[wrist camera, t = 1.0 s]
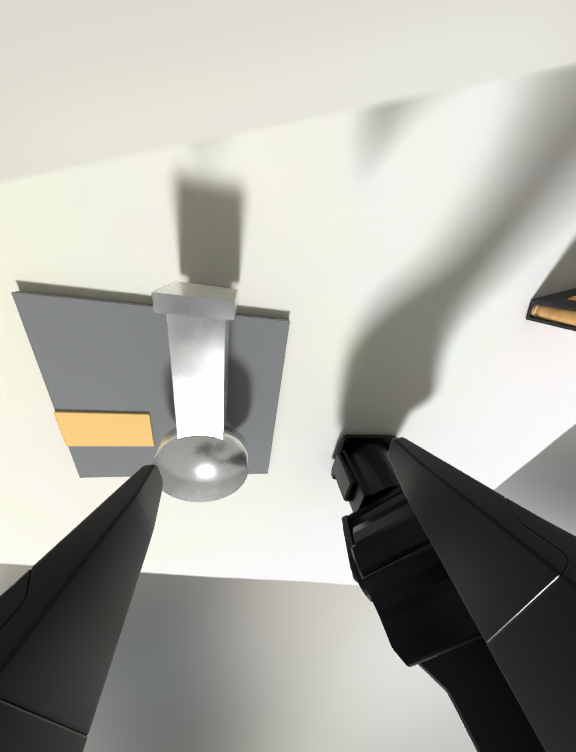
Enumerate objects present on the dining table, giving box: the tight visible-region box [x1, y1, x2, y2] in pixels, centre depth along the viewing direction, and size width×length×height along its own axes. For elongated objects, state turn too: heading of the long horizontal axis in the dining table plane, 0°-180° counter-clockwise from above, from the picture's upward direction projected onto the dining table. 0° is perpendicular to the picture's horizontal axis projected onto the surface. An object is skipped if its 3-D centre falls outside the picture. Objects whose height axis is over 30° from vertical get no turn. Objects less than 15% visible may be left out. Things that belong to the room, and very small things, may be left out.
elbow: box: [152, 281, 248, 502], centre depth 18 cm, size 16×7×4 cm, turn 172°
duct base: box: [11, 291, 290, 478], centre depth 20 cm, size 18×17×3 cm
